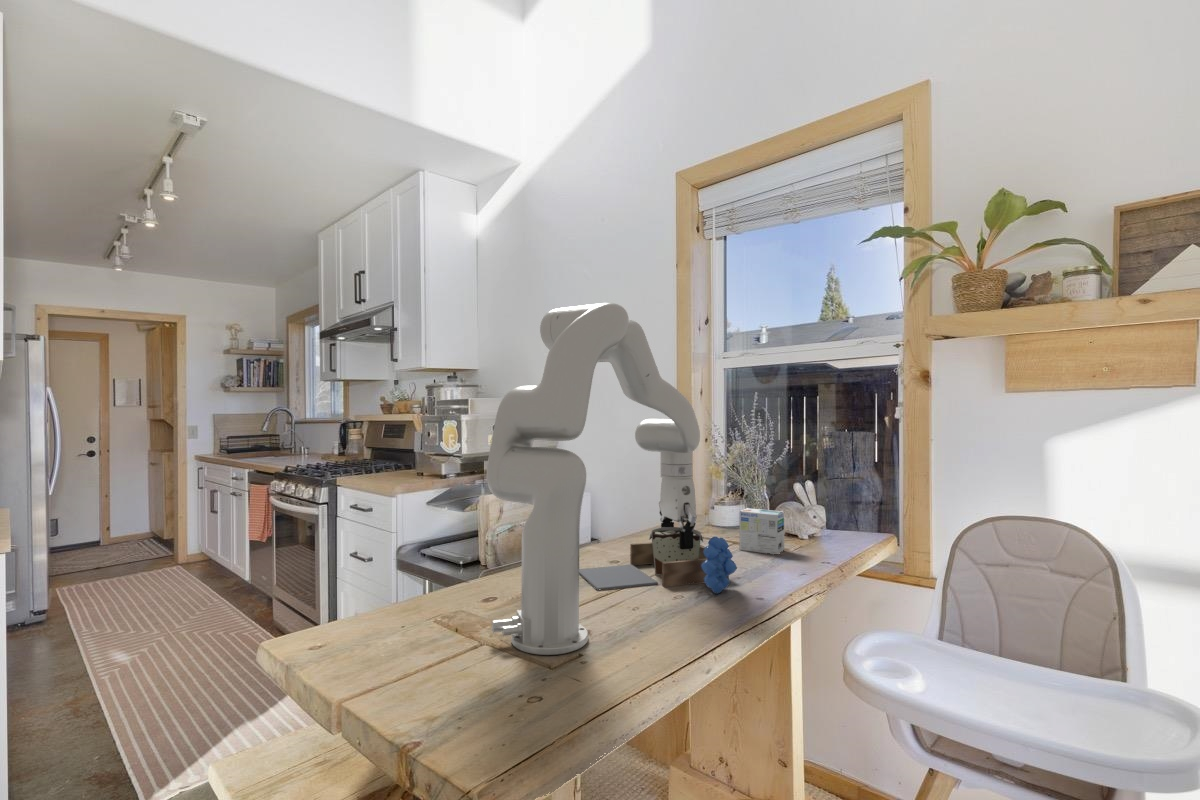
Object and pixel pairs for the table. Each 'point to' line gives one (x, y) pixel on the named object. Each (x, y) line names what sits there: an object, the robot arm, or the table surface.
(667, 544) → the food container
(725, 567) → the grapes
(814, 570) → the table surface
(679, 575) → the open side box
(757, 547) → the light bulb box
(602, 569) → the gray mat
